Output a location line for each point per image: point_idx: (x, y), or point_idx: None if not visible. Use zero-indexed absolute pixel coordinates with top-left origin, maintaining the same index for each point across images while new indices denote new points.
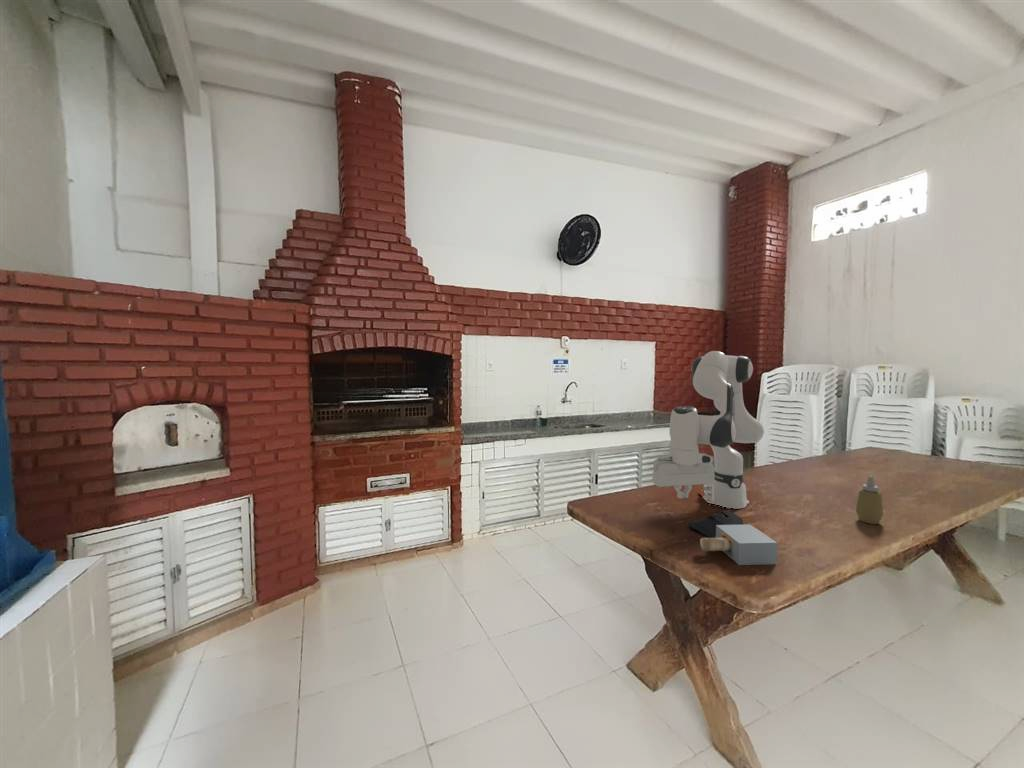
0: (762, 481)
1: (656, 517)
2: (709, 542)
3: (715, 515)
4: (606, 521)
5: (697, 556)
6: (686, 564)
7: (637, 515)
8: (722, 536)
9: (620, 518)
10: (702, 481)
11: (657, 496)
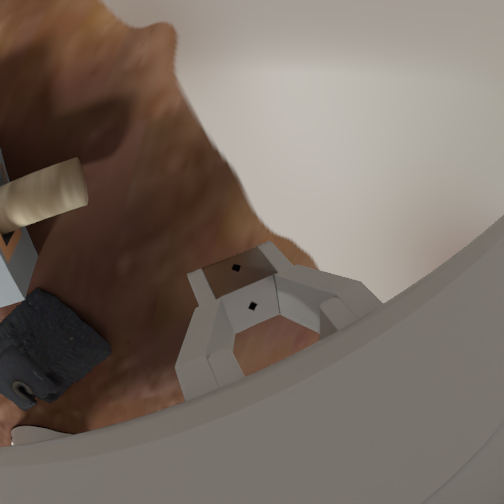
0: None
1: None
2: (58, 173)
3: (44, 387)
4: None
5: (106, 151)
6: (163, 84)
7: None
8: (9, 245)
9: (273, 334)
10: (53, 476)
11: None
